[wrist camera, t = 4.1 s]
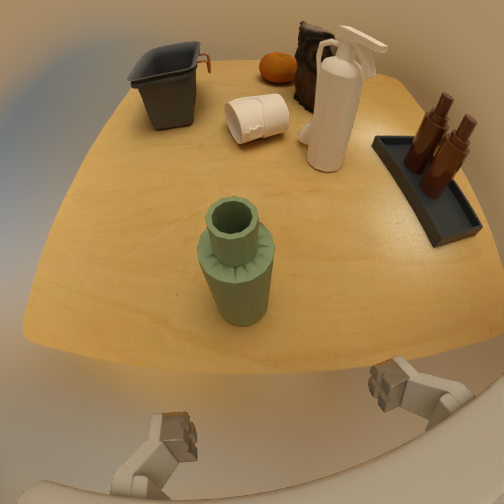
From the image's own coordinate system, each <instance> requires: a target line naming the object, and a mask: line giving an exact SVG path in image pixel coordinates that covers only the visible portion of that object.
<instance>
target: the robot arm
mask: <svg viewBox="0 0 504 504" xmlns="http://www.w3.org/2000/svg"><path fill="white" fill-rule="evenodd" d="M370 374H371V375H372V376H371V377H370V379H369V382H368V386H369V390H370V392H371V394H372V396H373V397H374V398H377V399H378V405H379V406H380V407H381V409H382V410H383V412H384V413H385V412H387V411H389V410H392V409H394V408H396V407H398V406H400V407H402V408H404V409H406V410H408V411H410V412H412V413H414V414H417V415H419V416H421V417H423V418H426V419H428V420H430V421H429V423H428V425H427V427H426V430H425V431H426V432H424V433H423V434H421V435H419V436H417V437H416V438H414V439H412V440H410V441H408V442H407V443H405V444H403V445H401V446H399V447H397V448H395V449H393V450H391V451H389V452H387V453H385V454H383V455H380V456H378V457H376V458H374V459H372V460H369V461H367V462H365V463H362V464H360V465H357V466H355V467H352V468H350V469H347V470H344V471H342V472H339V473H336V474H333V475H330V476H327V477H324V478H321V479H318V480H314V481H311V482H307V483H303V484H300V485H296V486H292V487H287V488H284V489H279V490H274V491H269V492H264V493H258V494H252V495H245V496H237V497H229V498H219V499H204V500H171V499H170V498H169V497H168V496H167V495H166V494H165V493H164V492H162V491H161V489H162V488H163V486H164V485H165V484H166V482H167V481H168V479H169V478H170V476H171V475H172V473H173V472H174V470H175V469H176V467H177V466H178V464H179V462H192V461H197V448H196V446H195V443H196V442H197V434H196V429H195V426H194V424H193V422H191V421H189V418H190V416H189V415H188V413H187V412H173V413H156V414H153V415H152V416H151V422H150V428H149V434H148V441H147V442H144V443H143V444H142V445H141V446H140V447H139V448H138V449H137V450H136V451H135V452H134V453H133V454H132V455H131V456H130V457H129V458H128V459H127V460H126V461H125V462H124V463H123V464H122V465H121V466H120V467H119V468H118V469H117V470H116V471H115V472H114V474H113V480H112V485H111V491H110V495H107V494H101V493H96V492H91V491H86V490H82V489H77V488H73V487H69V486H66V485H62V484H58V483H55V482H52V481H48V480H42V481H40V482H38V483H36V484H34V485H33V486H31V487H30V488H28V489H27V490H26V491H24V492H23V493H22V494H21V495H20V497H19V499H18V501H17V503H16V504H504V373H503V374H502V375H501V376H500V377H499V378H498V379H497V380H495V381H494V382H493V383H492V384H491V385H490V386H488V387H487V388H486V389H485V390H484V391H483V392H481V393H480V394H479V395H478V396H476V397H475V396H474V395H473V394H472V393H471V392H470V391H469V390H468V389H467V388H466V387H465V386H464V385H463V384H462V383H460V382H456V381H452V380H448V379H444V378H440V377H436V376H433V375H428V374H425V373H418V372H417V371H416V370H415V369H414V368H413V367H412V366H411V365H410V364H409V363H408V362H407V361H406V360H405V359H404V358H403V357H402V356H401V355H397V356H395V357H393V358H391V359H388V360H386V361H383V362H381V363H378V364H376V365H374V366H372V367H371V369H370Z"/></svg>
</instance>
